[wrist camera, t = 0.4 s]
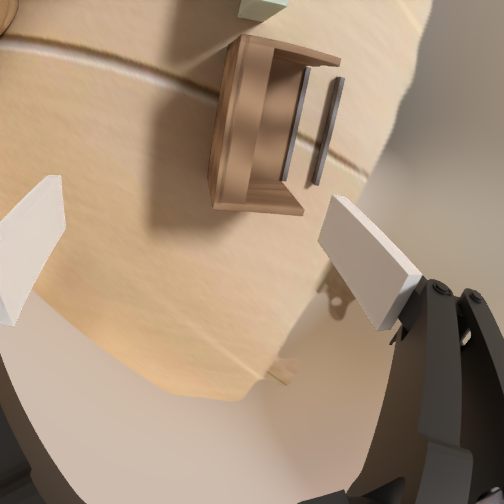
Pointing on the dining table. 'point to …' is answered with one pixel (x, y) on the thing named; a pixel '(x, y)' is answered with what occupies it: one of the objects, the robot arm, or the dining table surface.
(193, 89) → the dining table surface
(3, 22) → the container
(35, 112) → the dining table surface
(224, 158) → the cabinet
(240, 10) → the door
